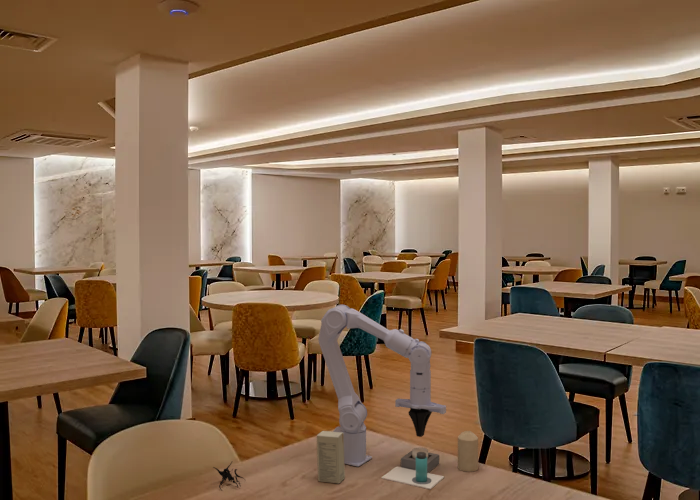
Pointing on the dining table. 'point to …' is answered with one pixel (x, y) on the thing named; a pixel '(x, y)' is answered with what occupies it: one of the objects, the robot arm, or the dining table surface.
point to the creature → (228, 475)
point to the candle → (468, 451)
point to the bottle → (421, 467)
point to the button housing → (411, 463)
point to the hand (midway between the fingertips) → (420, 435)
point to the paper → (411, 477)
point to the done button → (416, 450)
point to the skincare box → (330, 456)
